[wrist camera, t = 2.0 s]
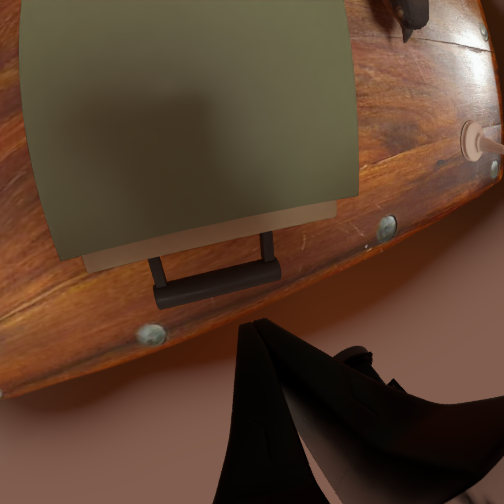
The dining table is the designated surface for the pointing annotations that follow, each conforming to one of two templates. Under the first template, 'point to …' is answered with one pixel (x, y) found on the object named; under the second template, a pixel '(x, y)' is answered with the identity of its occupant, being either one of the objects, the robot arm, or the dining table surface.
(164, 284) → the drawer
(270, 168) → the cabinet
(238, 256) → the dining table surface
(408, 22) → the decorative bird
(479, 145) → the chess piece
